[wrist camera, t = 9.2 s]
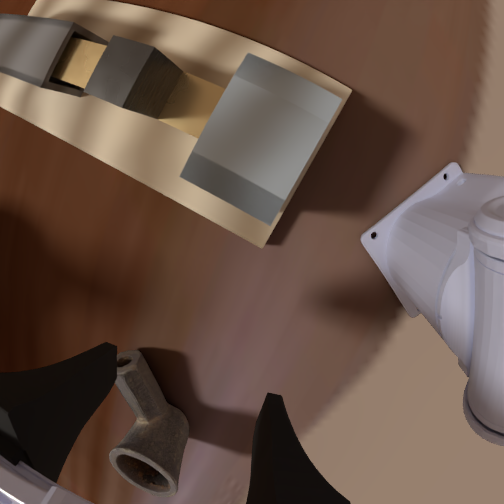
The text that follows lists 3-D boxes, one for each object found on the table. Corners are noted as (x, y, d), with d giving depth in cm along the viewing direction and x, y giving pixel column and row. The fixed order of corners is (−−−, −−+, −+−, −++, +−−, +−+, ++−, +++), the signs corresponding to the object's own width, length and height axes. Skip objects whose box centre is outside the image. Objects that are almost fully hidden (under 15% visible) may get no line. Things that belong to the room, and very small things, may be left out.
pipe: (163, 342, 25) (122, 402, 17) (208, 442, 28) (190, 502, 20) (107, 347, 26) (61, 397, 18) (158, 441, 29) (133, 494, 21)
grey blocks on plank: (349, 94, 18) (373, 65, 12) (263, 244, 22) (254, 275, 15) (47, -2, 17) (8, -22, 11) (-4, 101, 21) (-48, 97, 14)
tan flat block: (280, 123, 17) (277, 97, 11) (256, 166, 18) (239, 164, 11) (60, 39, 17) (3, 17, 10) (44, 72, 18) (-16, 57, 11)
